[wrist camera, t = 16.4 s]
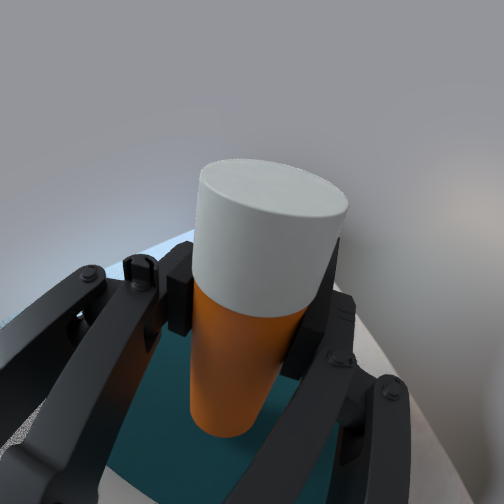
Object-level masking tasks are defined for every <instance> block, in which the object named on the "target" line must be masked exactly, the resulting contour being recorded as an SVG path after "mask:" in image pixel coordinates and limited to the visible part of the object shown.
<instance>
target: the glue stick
mask: <svg viewBox="0 0 504 504" xmlns="http://www.w3.org/2000/svg"><path fill="white" fill-rule="evenodd" d="M348 208H349V202H348V199H347V197H346V196H345V194H344V193H343V192H342V191H341V190H339V189H338V188H337V187H336V186H334V185H332V184H331V183H330V182H328V181H326V180H325V179H323V178H321V177H318V176H316V175H314V174H312V173H309V172H307V171H304V170H301V169H298V168H295V167H292V166H288V165H284V164H280V163H275V162H270V161H263V160H255V159H227V160H221V161H216V162H213V163H210V164H208V165H206V166H205V167H204V168H203V169H202V171H201V173H200V180H199V190H198V199H197V210H196V220H195V221H196V222H195V232H194V245H193V258H192V273H193V276H194V293H193V311H192V334H191V368H190V411H191V415H192V418H193V420H194V421H195V423H196V424H197V425H198V426H199V427H200V428H201V429H202V430H203V431H205V432H206V433H208V434H210V435H213V436H216V437H222V438H230V437H235V436H238V435H241V434H243V433H245V432H246V431H247V430H249V429H250V428H251V426H252V425H253V424H254V422H255V420H256V418H257V416H258V414H259V412H260V410H261V408H262V406H263V404H264V402H265V400H266V398H267V396H268V394H269V392H270V390H271V388H272V386H273V383H274V381H275V379H276V377H277V375H278V373H279V371H280V369H281V367H282V364H283V362H284V359H285V357H286V355H287V353H288V350H289V348H290V346H291V344H292V341H293V339H294V337H295V334H296V332H297V330H298V328H299V325H300V323H301V320H302V318H303V316H304V313H305V311H306V309H307V307H308V305H309V304H310V303H311V302H312V301H313V299H314V298H315V296H316V294H317V291H318V289H319V286H320V284H321V281H322V279H323V276H324V274H325V271H326V269H327V266H328V263H329V261H330V258H331V256H332V253H333V250H334V248H335V245H336V242H337V239H338V237H339V234H340V231H341V228H342V225H343V223H344V220H345V217H346V214H347V211H348Z"/></svg>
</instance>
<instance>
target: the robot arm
mask: <svg viewBox="0 0 504 504" xmlns="http://www.w3.org/2000/svg"><path fill="white" fill-rule="evenodd" d="M339 240H340V238H339V237H338V239H337V242H336V245H335V248H334V250H333V253H332V256H331V258H330V261H329V263H328V266H327V269H326V271H325V274H324V276H323V279H322V281H321V284H320V286H319V289H318V291H317V294H316V296H315V298H314V299H313V301H312V302H311V303H310V304H309V305H308V307H307V309H306V311H305V313H304V316H303V318H302V320H301V323H300V325H299V328H298V330H297V332H296V334H295V337H294V339H293V341H292V344H291V346H290V348H289V350H288V353H287V355H286V357H285V359H284V362H283V365H282V368H281V371H280V374H279V375H282V376H285V377H288V378H291V379H294V380H297V381H299V380H300V378H301V381H300V384H299V386H298V387H297V389H296V391H295V392H294V394H293V396H292V397H291V399H290V401H289V403H288V405H287V406H286V408H285V410H284V411H283V413H282V415H281V416H280V418H279V420H278V421H277V423H276V425H275V426H274V428H273V429H272V431H271V433H270V434H269V436H268V437H267V439H266V440H265V442H264V443H263V445H262V447H261V448H260V450H259V451H258V453H257V454H256V456H255V457H254V459H253V460H252V461H251V463H250V464H249V466H248V467H247V469H246V470H245V472H244V473H243V474H242V476H241V477H240V479H239V480H238V481H237V483H236V484H235V485H234V487H233V488H232V489H231V491H230V492H229V493H228V495H227V496H226V497H225V499H224V500H223V501H222V502H221V504H294V503H295V501H296V500H297V498H298V496H299V494H300V493H301V491H302V489H303V487H304V485H305V484H306V482H307V480H308V478H309V476H310V474H311V472H312V470H313V468H314V466H315V464H316V462H317V460H318V458H319V456H320V454H321V452H322V450H323V448H324V446H325V444H326V442H327V439H328V437H329V435H330V433H331V431H332V428H333V426H334V424H335V422H337V423H339V430H338V438H337V444H336V451H335V457H334V463H333V469H332V474H331V480H330V485H329V490H328V494H327V499H326V504H408V499H409V486H410V466H411V424H410V403H409V392H408V389H407V386H406V385H405V383H404V382H403V381H402V380H401V379H400V378H398V377H396V376H394V375H388V374H385V375H382V376H380V377H379V378H378V379H377V378H375V377H373V376H372V375H370V374H368V373H367V372H365V371H364V370H363V369H361V368H360V367H359V366H358V364H357V360H356V358H355V355H354V354H353V340H354V328H355V324H354V323H355V313H356V305H355V302H354V300H353V298H352V296H350V295H347V294H344V293H341V292H338V291H335V290H333V285H334V278H335V271H336V263H337V256H338V248H339ZM193 245H194V243H192V242H189V241H185V242H183V243H180V244H177V245H176V246H175V247H174V248H173V249H172V250H170V252H168V253H167V254H166V255H165V256H164V257H163V258H161V259H160V260H159V261H157V260H156V259H155V258H154V257H152V256H149V255H146V254H135V255H131V256H129V257H127V258H125V259H124V260H123V270H124V278H125V280H116V279H111V278H106V273H105V270H104V269H103V268H102V267H100V266H97V265H86V266H83V267H81V268H79V269H78V270H76V271H75V272H73V273H72V274H71V275H69V276H68V277H67V278H65V279H64V280H62V281H61V282H60V283H58V284H57V285H56V286H54V287H53V288H52V289H50V290H49V291H48V292H47V293H45V294H44V295H43V296H41V297H40V298H39V299H37V300H36V301H35V302H34V303H33V304H31V305H30V306H29V307H27V308H26V309H25V310H24V311H22V312H21V313H20V314H19V315H18V316H16V317H15V318H14V319H13V320H12V321H10V322H9V323H8V324H7V325H6V326H4V327H3V328H2V329H1V330H0V448H1V447H2V446H3V445H4V444H5V443H6V442H7V441H8V439H9V438H10V437H11V436H12V435H13V434H14V433H15V431H16V430H17V429H18V428H19V427H20V426H21V425H22V424H23V423H24V421H25V420H26V419H27V418H28V417H29V416H30V415H31V414H32V413H33V412H34V410H35V409H36V408H37V407H38V406H39V405H40V404H41V403H42V402H43V401H44V400H45V399H46V400H45V402H44V404H43V405H42V407H41V409H40V411H39V413H38V415H37V417H36V418H35V420H34V422H33V424H32V426H31V428H30V430H29V432H28V434H27V436H26V438H25V439H24V441H23V442H22V443H20V444H17V445H12V446H10V447H9V448H8V449H7V450H6V451H5V453H4V454H3V456H2V458H1V460H0V504H97V503H98V497H99V495H98V485H99V482H100V479H101V477H102V474H103V472H104V469H105V466H106V464H107V461H108V459H109V456H110V453H111V451H112V448H113V446H114V443H115V441H116V439H117V436H118V434H119V431H120V429H121V426H122V424H123V422H124V419H125V417H126V414H127V412H128V410H129V407H130V405H131V403H132V400H133V398H134V396H135V394H136V391H137V389H138V387H139V384H140V382H141V380H142V378H143V375H144V373H145V371H146V369H147V367H148V364H149V362H150V360H151V358H152V356H153V354H154V351H155V349H156V347H157V345H158V343H159V341H160V339H161V335H162V327H163V326H164V324H165V323H166V322H167V321H168V330H169V331H171V332H174V333H176V334H178V335H180V336H182V337H186V336H187V334H188V333H189V331H190V330H191V328H192V311H193V293H194V276H193V273H192V258H193ZM81 311H82V315H81V316H79V317H77V316H76V315H77V314H78V313H80V312H81ZM301 376H302V377H301ZM47 396H48V397H47Z"/></svg>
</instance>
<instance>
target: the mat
mask: <svg viewBox="0 0 504 504" xmlns="http://www.w3.org/2000/svg"><path fill="white" fill-rule="evenodd" d="M191 334H192V328H191V330H190V331H189V333H188V334H187V336H186V337H182V336H180V335H178V334H176V333H174V332H171V331H169V330H168V321H167V322H166V323H165V324H164V326H163V327H162V335H161V339H160V341H159V343H158V345H157V347H156V349H155V351H154V354H153V356H152V358H151V360H150V362H149V364H148V367H147V369H146V371H145V373H144V375H143V378H142V380H141V382H140V384H139V387H138V389H137V391H136V394H135V396H134V398H133V400H132V403H131V405H130V407H129V410H128V412H127V414H126V417H125V419H124V422H123V424H122V426H121V429H120V431H119V434H118V436H117V439H116V441H115V443H114V446H113V448H112V451H111V453H110V456H109V459H108V461H107V464H106V465H107V466H108V467H110V468H111V469H112V470H113V471H114V472H116V473H117V474H118V475H119V476H121V477H122V478H123V479H125V480H126V481H127V482H129V483H130V484H131V485H133V486H134V487H135V488H137V489H138V490H139V491H141V492H142V493H144V494H145V495H147V496H148V497H150V498H151V499H153V500H154V501H156V502H157V503H159V504H221V502H222V501H223V500H224V499H225V497H226V496H227V495H228V493H229V492H230V491H231V489H232V488H233V487H234V485H235V484H236V483H237V481H238V480H239V479H240V477H241V476H242V474H243V473H244V472H245V470H246V469H247V467H248V466H249V464H250V463H251V461H252V460H253V459H254V457H255V456H256V454H257V453H258V451H259V450H260V448H261V447H262V445H263V443H264V442H265V440H266V439H267V437H268V436H269V434H270V433H271V431H272V429H273V428H274V426H275V425H276V423H277V421H278V420H279V418H280V416H281V415H282V413H283V411H284V410H285V408H286V406H287V405H288V403H289V401H290V399H291V397H292V396H293V394H294V392H295V391H296V389H297V387H298V386H299V384H300V381H301V378H300V380H299V381H297V380H294V379H291V378H288V377H285V376H282V375H279V374H280V371H281V369H280V371H279V373H278V375H277V377H276V379H275V381H274V383H273V386H272V388H271V390H270V392H269V394H268V396H267V398H266V400H265V402H264V404H263V406H262V408H261V410H260V412H259V414H258V416H257V418H256V420H255V422H254V424H253V425H252V426H251V428H250V429H249V430H247V431H246V432H245V433H243V434H241V435H238V436H235V437H230V438H222V437H216V436H213V435H210V434H208V433H206V432H205V431H203V430H202V429H201V428H200V427H199V426H198V425H197V424H196V423H195V421H194V420H193V418H192V415H191V411H190V368H191ZM282 365H283V364H282ZM281 368H282V367H281ZM301 377H302V376H301ZM338 430H339V423H337V422H335V424H334V426H333V428H332V431H331V433H330V435H329V437H328V439H327V442H326V444H325V446H324V448H323V450H322V452H321V454H320V456H319V458H318V460H317V462H316V464H315V466H314V468H313V470H312V472H311V474H310V476H309V478H308V480H307V482H306V484H305V485H304V487H303V489H302V491H301V493H300V494H299V496H298V498H297V500H296V501H295V503H294V504H326V499H327V494H328V490H329V485H330V480H331V474H332V469H333V463H334V457H335V451H336V444H337V438H338Z"/></svg>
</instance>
